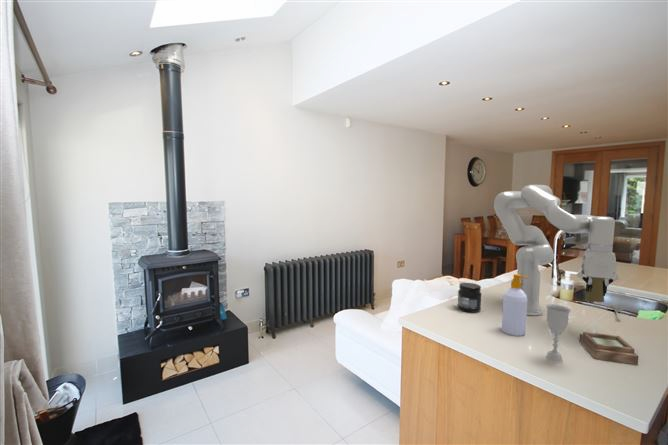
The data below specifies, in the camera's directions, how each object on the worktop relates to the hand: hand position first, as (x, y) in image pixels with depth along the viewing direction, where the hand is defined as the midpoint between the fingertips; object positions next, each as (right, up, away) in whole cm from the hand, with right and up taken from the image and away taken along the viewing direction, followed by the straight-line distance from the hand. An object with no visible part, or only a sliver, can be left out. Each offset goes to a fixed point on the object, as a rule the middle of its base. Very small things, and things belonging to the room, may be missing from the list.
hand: (595, 293), depth 130 cm
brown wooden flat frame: (-6, -18, -12) cm, 23 cm away
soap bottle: (-30, -17, +5) cm, 34 cm away
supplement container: (-38, -14, +30) cm, 50 cm away
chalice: (-28, -19, -17) cm, 38 cm away
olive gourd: (0, -3, 0) cm, 3 cm away
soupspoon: (+30, -16, +25) cm, 42 cm away
